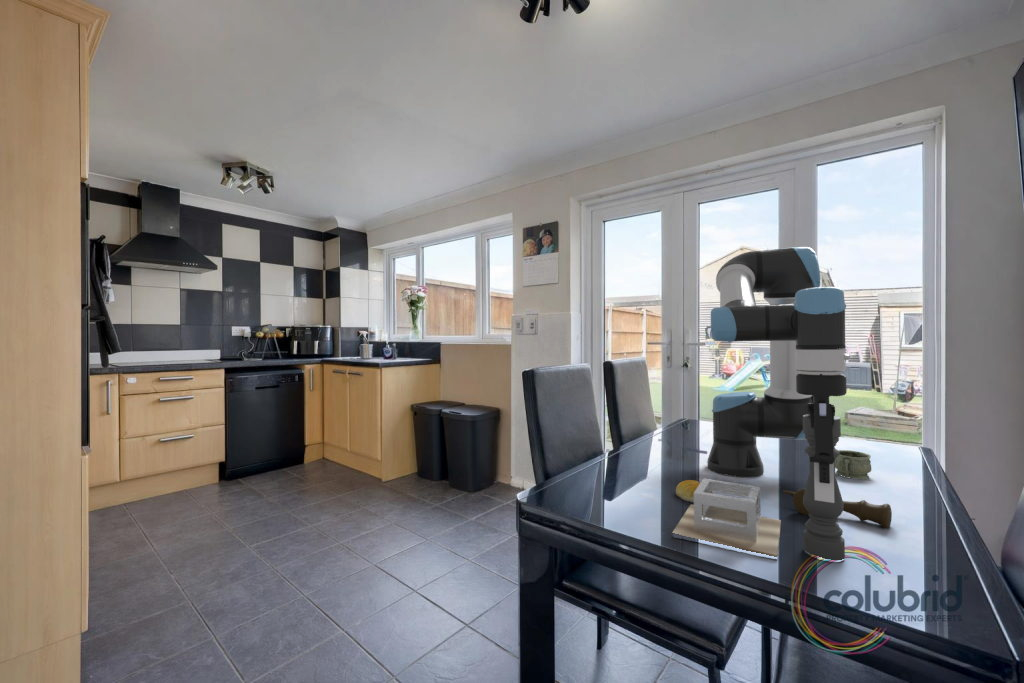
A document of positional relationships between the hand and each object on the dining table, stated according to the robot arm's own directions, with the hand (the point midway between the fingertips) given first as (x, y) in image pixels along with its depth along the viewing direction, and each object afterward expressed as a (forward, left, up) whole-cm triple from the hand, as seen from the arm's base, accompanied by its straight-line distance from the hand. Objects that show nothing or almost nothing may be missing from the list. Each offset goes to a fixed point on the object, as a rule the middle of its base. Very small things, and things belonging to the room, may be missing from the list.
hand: (822, 489), depth 81 cm
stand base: (-2, -16, -12) cm, 20 cm away
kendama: (-23, +3, -12) cm, 27 cm away
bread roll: (-20, -26, -12) cm, 35 cm away
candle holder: (0, 0, -12) cm, 12 cm away
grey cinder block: (-2, -16, -12) cm, 20 cm away
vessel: (-61, +9, -12) cm, 63 cm away
